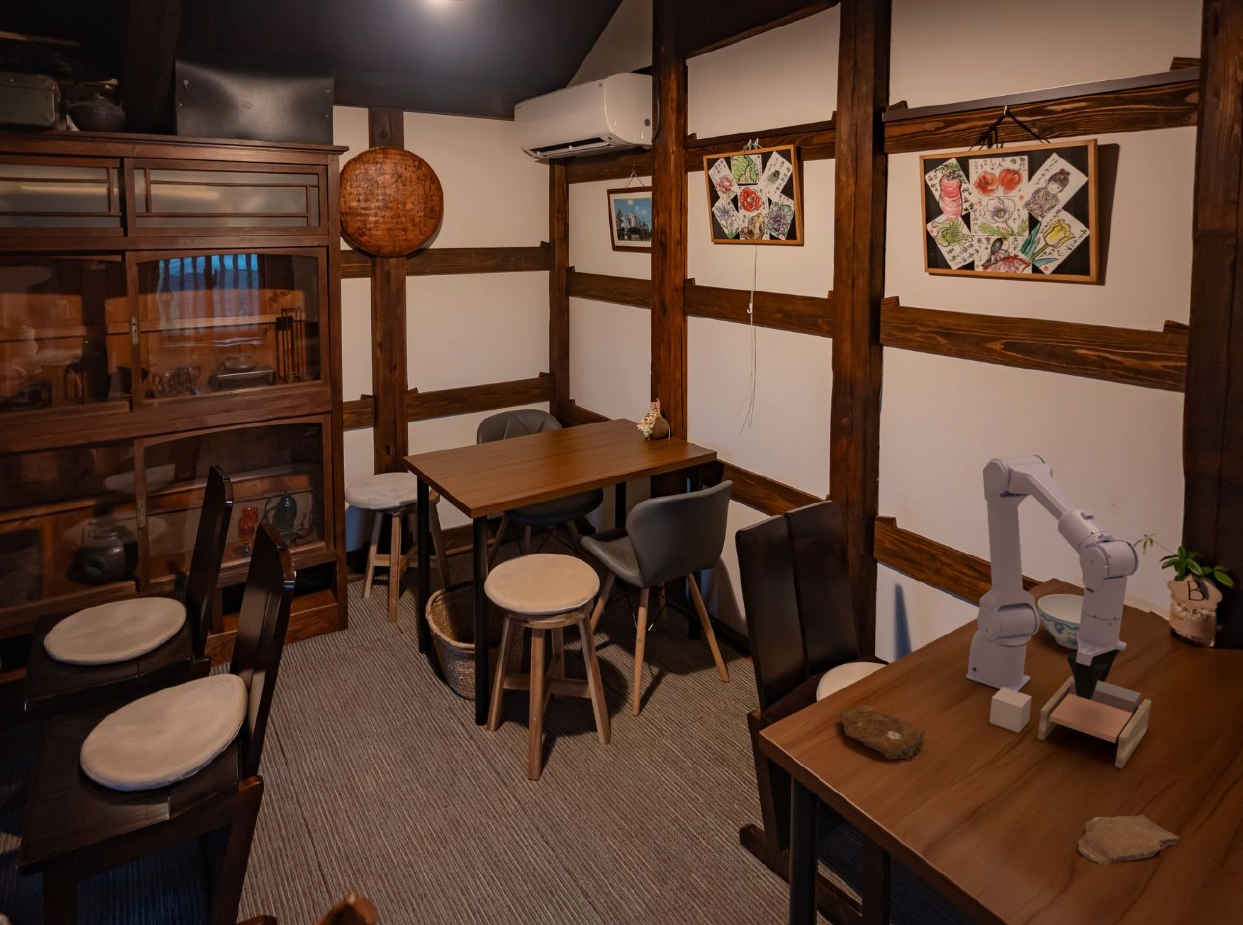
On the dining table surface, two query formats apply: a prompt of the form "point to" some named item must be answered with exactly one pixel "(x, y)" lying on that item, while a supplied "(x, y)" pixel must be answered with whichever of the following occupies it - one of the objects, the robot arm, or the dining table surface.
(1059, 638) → the chinaware
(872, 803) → the dining table surface
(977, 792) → the dining table surface
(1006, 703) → the beige cube
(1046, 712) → the frame
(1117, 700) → the trapdoor
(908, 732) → the decorative rock
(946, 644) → the dining table surface
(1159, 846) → the pottery shard
